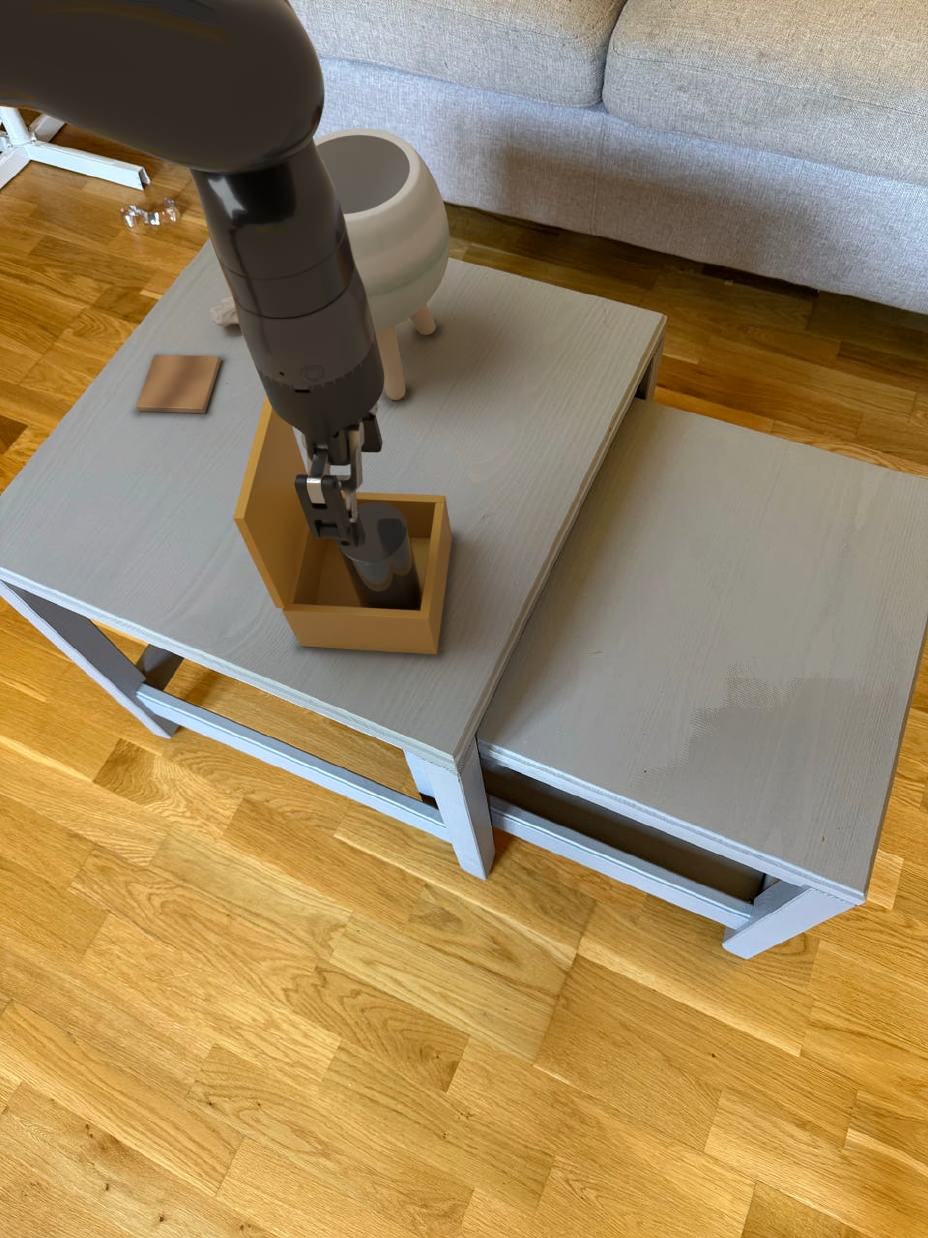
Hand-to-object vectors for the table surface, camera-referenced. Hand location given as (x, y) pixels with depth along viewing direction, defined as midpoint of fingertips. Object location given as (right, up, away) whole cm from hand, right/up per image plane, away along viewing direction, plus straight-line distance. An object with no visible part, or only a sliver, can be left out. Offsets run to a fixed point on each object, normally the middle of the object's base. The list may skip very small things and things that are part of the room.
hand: (360, 494), depth 68 cm
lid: (-7, 0, +5) cm, 9 cm away
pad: (-23, +16, +31) cm, 42 cm away
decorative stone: (-17, +25, +35) cm, 46 cm away
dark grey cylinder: (+1, -8, +15) cm, 17 cm away
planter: (0, +19, +31) cm, 36 cm away
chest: (0, -7, +17) cm, 18 cm away
